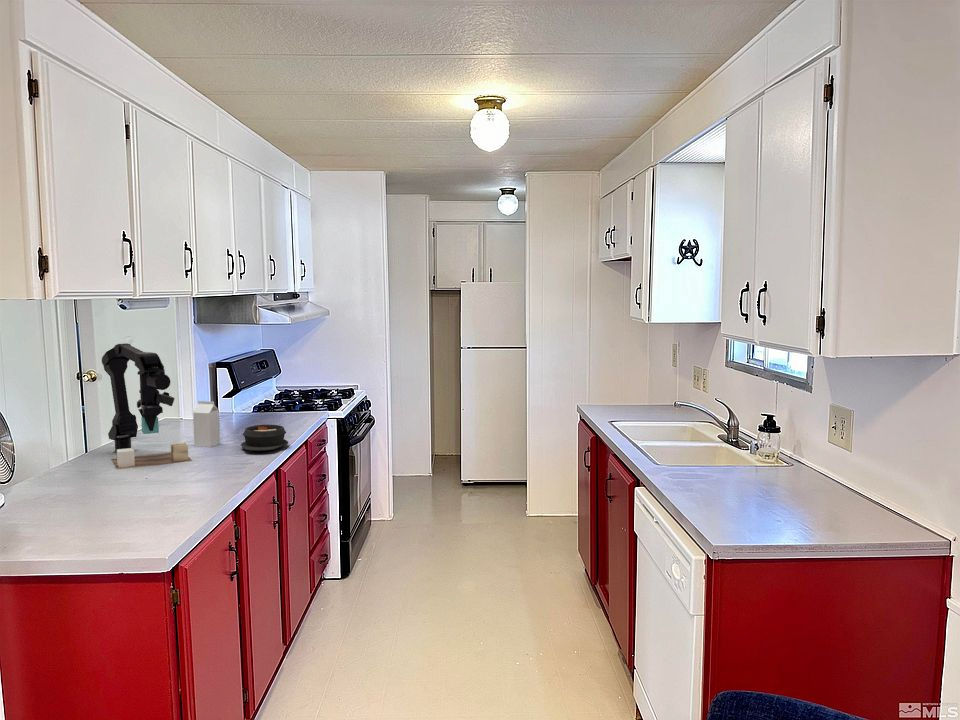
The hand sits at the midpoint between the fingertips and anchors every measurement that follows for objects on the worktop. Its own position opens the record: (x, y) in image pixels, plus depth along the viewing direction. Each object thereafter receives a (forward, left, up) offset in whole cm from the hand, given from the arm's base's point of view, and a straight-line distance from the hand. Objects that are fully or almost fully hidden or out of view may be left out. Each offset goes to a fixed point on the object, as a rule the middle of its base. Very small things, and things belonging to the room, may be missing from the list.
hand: (150, 429), depth 263 cm
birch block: (+5, +9, -11) cm, 15 cm away
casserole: (-3, +43, -13) cm, 45 cm away
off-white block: (+5, -9, -11) cm, 15 cm away
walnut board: (+1, 0, -12) cm, 12 cm away
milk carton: (-15, +23, -13) cm, 30 cm away
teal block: (0, 0, -1) cm, 1 cm away
